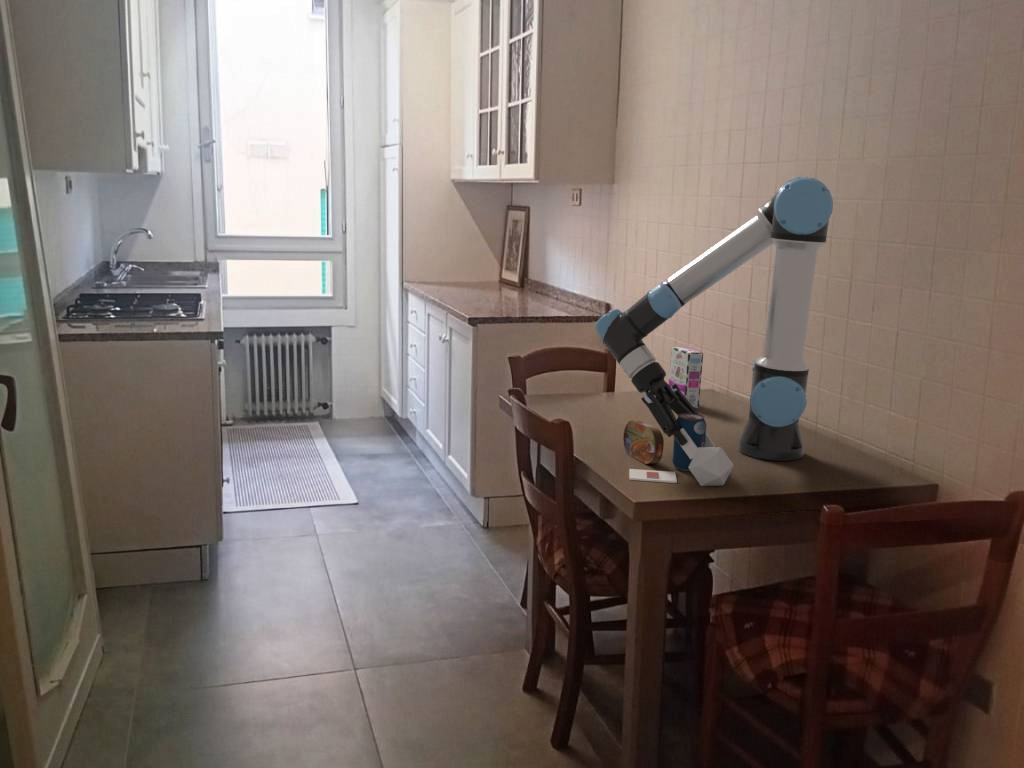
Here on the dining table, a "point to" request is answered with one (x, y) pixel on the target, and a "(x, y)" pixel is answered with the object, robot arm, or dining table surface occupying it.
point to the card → (652, 475)
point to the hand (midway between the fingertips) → (703, 452)
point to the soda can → (696, 432)
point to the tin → (643, 442)
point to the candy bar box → (686, 372)
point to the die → (710, 466)
